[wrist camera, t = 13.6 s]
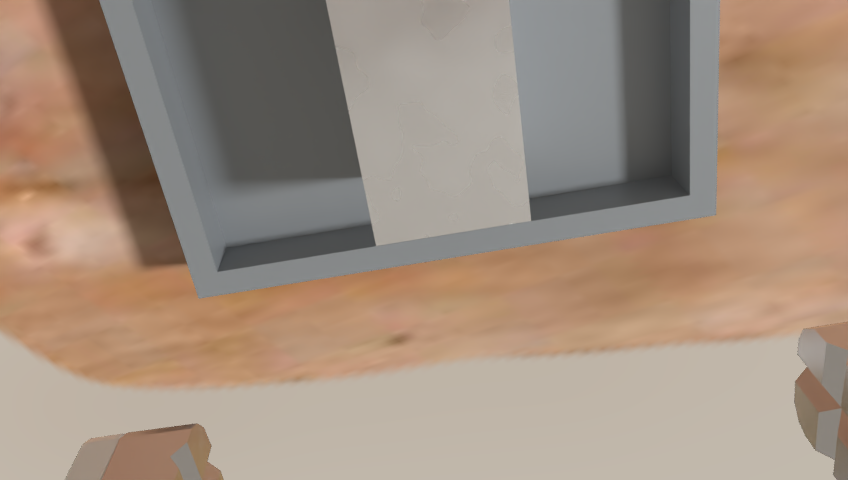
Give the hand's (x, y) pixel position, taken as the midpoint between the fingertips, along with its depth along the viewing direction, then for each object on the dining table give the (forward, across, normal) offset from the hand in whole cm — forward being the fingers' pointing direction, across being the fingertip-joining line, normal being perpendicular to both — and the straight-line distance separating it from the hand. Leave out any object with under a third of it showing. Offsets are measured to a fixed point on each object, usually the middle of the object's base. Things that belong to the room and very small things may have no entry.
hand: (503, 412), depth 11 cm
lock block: (+20, 0, 0) cm, 20 cm away
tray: (+21, 0, 0) cm, 21 cm away
